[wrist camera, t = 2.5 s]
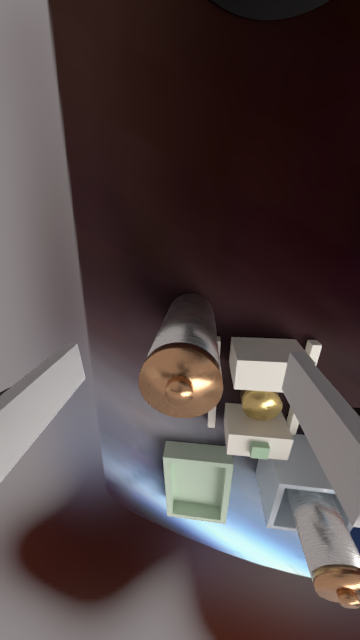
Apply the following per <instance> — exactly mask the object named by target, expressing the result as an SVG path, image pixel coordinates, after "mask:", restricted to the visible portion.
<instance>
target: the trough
mask: <svg viewBox="0 0 360 640" xmlns="http://www.w3.org/2000/svg"><path fill="white" fill-rule="evenodd" d="M163 466H164V478H165V491H166V503H167V516H172V517H179V518H186V519H194V520H201V521H208V522H216V523H223V524H226V517H227V510H228V503H229V495H230V488H231V481H232V473H233V466H234V463H233V455H228V454H227V452H226V446H218V445H207V444H197V443H186V442H176V441H166V443H165V448H164V454H163Z"/></svg>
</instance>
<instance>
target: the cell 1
mask: <svg viewBox="0 0 360 640" xmlns="http://www.w3.org/2000/svg"><path fill="white" fill-rule="evenodd" d="M139 388H140V391H141V394H142V396H143V397H144V399H145V400H146V401H147V402H148V404H149V405H151V406H152V407H153V408H154V409H156V410H157V411H159V412H161V413H163V414H165V415H168V416H172V417H177V418H192V417H197V416H201V415H203V414H205V413H207V412H209V411H210V410H212V409H213V408H214V407H215V406H216V405H217V404H218V402H219V401H220V399H221V397H222V393H223V380H222V372H221V364H220V357H219V349H218V341H217V333H216V325H215V317H214V310H213V307H212V305H211V303H210V302H209V301H208V300H207V299H206V298H205V297H203V296H201V295H199V294H195V293H187V294H183V295H181V296H179V297H177V298H176V299H175V300H174V301H173V302H172V304H171V305H170V308H169V310H168V312H167V314H166V316H165V318H164V321H163V323H162V325H161V327H160V329H159V332H158V334H157V336H156V338H155V340H154V343H153V345H152V347H151V349H150V351H149V354H148V356H147V358H146V360H145V362H144V365H143V367H142V369H141V371H140V374H139Z"/></svg>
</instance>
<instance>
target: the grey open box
mask: <svg viewBox="0 0 360 640" xmlns="http://www.w3.org/2000/svg"><path fill="white" fill-rule="evenodd" d="M292 437H293V439H294V441H293V444H292V448H291V451H290V454H289V458H288V460H279V459H269V458H268V460H265V459H258V463H257V468H256V473H255V474H256V479H257V483H258V488H259V493H260V498H261V503H262V507H263V512H264V517H265V522H266V527H267V528H273V529H280V530H288V531H295V532H297V529H296V526H295V522H294V519H293V516H292V513H291V509H290V506H289V503H288V500H287V496H286V493H285V488H288V489H297V490H305V491H314V492H323V493H331V495H332V497H333V499H334V501H335V503H336V506H337V508H338V510H339V512H340V514H341V516H342V518H343V520H344V522H345V524H346V526H347V528H348V531H349V533H350V532H351V530H352V528H353V527H352V525H351V523H350V521H349V519H348V517H347V515H346V513H345V511H344V509H343V507H342V505H341V503H340V502H339V500H338V498H337V496H336V494H335V492H334V490H333V488H332V486H331V484H330V482H329V480H328V478H327V476H326V474H325V472H324V470H323V469H322V467H321V465H320V463H319V461H318V459H317V457H316V455H315V453H314V451H313V449H312V447H311V445H310V443H309V441H308V439H307V437H306V436H305V435H300V434H296V435H292Z"/></svg>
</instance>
